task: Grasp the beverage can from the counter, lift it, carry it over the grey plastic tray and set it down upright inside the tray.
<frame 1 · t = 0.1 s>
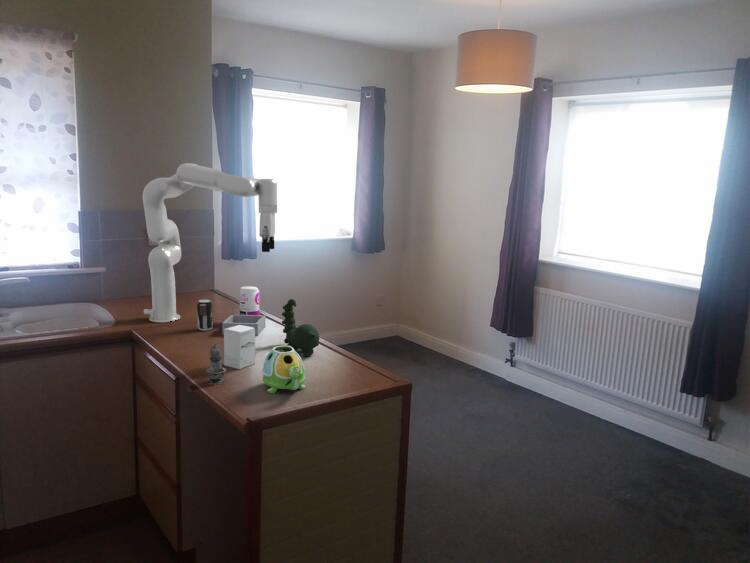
hand: (268, 250, 242), 31 cm above the countertop, tool pointing down, fingers open, 9 cm apart
supplement can: (249, 322, 248), on the countertop
tray: (244, 330, 234), on the countertop
supplement box: (240, 365, 193), on the countertop
beverage can: (205, 329, 235), on the countertop
toy figurine: (300, 351, 210), on the countertop
grey tower figurine: (216, 382, 177), on the countertop
turtle holder: (286, 389, 173), on the countertop
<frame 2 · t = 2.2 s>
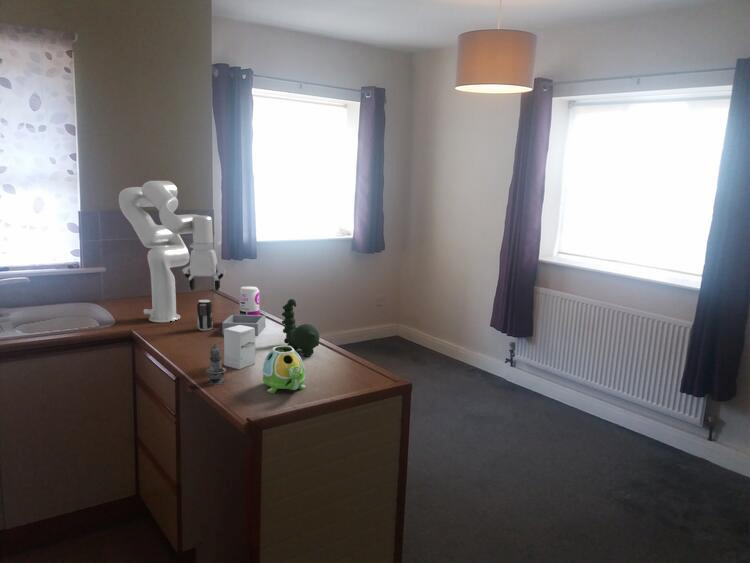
hand: (205, 289, 232), 16 cm above the countertop, tool pointing down, fingers open, 9 cm apart
nothing on the countertop moved.
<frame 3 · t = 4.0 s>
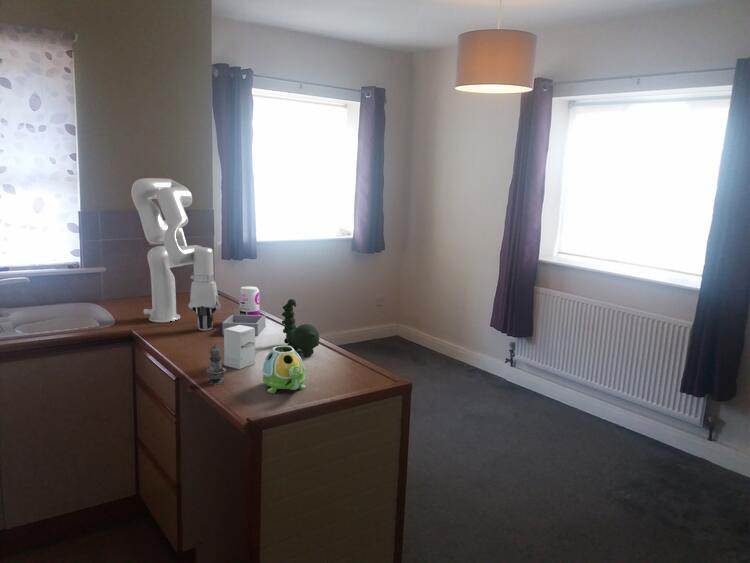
hand: (205, 322, 234), 3 cm above the countertop, tool pointing down, fingers closed on beverage can, 3 cm apart
beverage can: (205, 329, 235), on the countertop, touching gripper
everything else where it was.
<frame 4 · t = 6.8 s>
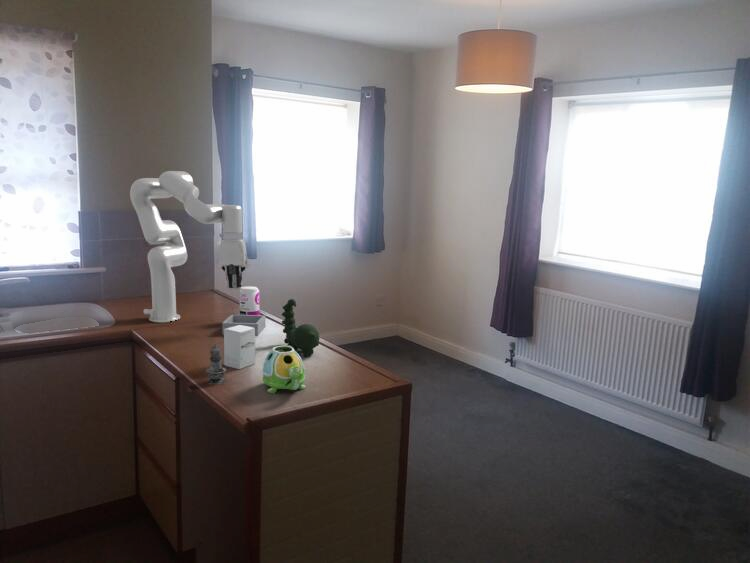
hand: (234, 282, 231), 20 cm above the countertop, tool pointing down, fingers closed on beverage can, 3 cm apart
beverage can: (234, 289, 231), point 17 cm above the countertop, touching gripper
everything else where it was.
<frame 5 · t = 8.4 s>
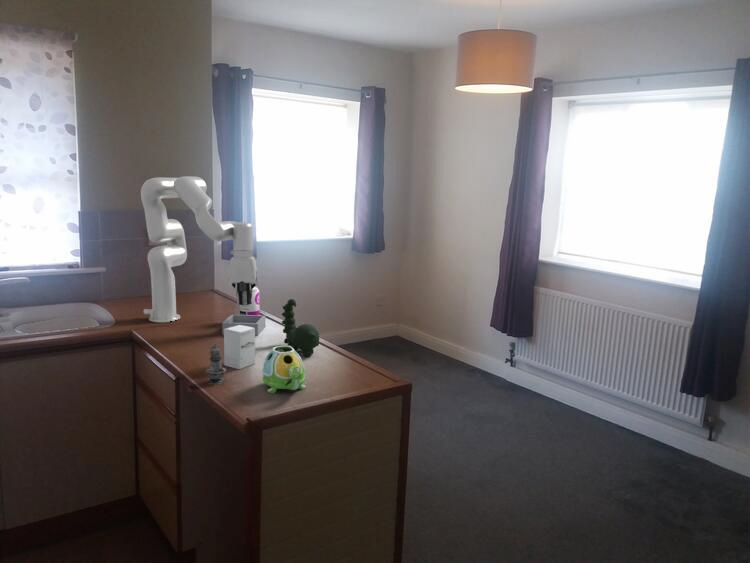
hand: (244, 299, 232), 13 cm above the countertop, tool pointing down, fingers closed on beverage can, 3 cm apart
beverage can: (244, 306, 233), point 10 cm above the countertop, touching gripper
everything else where it was.
when the fingers open (6 cm above the countertop, at t = 10.1 s): beverage can stays where it is, point 2 cm above the countertop.
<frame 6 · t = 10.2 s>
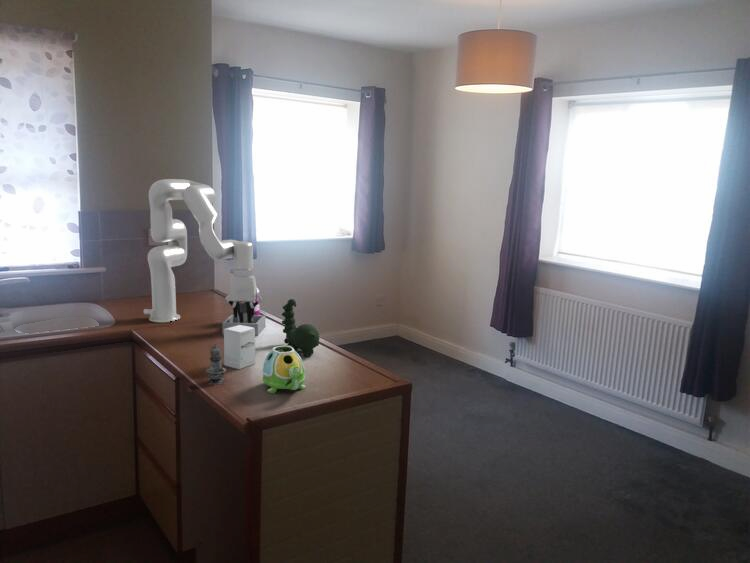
hand: (243, 316, 233), 6 cm above the countertop, tool pointing down, fingers open, 5 cm apart
beverage can: (245, 325, 235), point 2 cm above the countertop
everything else where it was.
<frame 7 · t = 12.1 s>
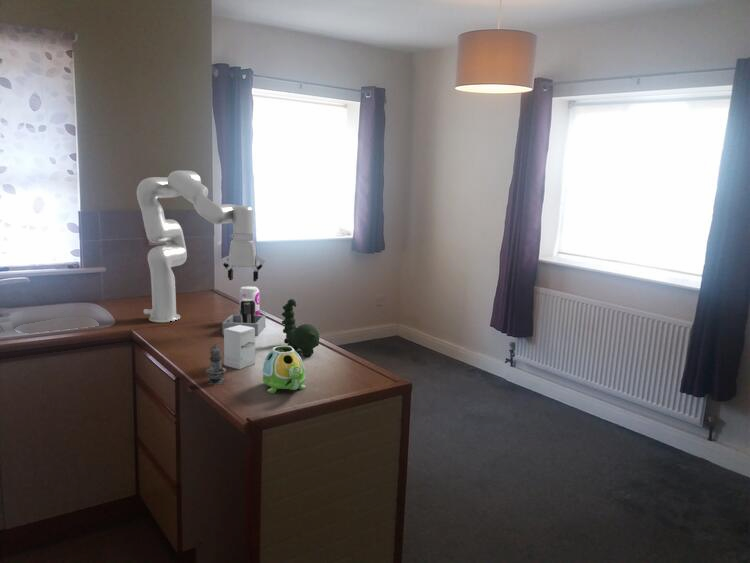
hand: (243, 280, 231), 21 cm above the countertop, tool pointing down, fingers open, 9 cm apart
beverage can: (248, 328, 235), point 1 cm above the countertop, touching tray
everything else where it was.
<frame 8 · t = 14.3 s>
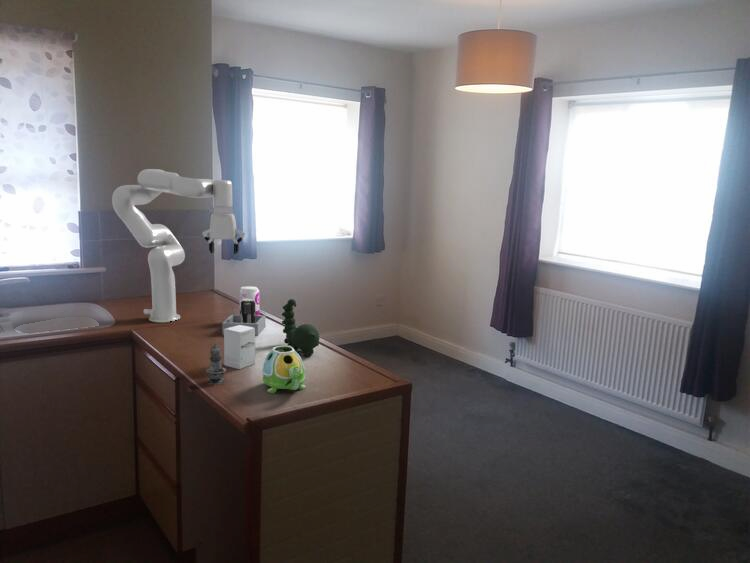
hand: (224, 253, 237), 30 cm above the countertop, tool pointing down, fingers open, 9 cm apart
nothing on the countertop moved.
at the end: beverage can inside the target area on the tray (1.7 cm from its centre), point 0.6 cm above the tray's base; beverage can tilted 0°; the gripper is holding nothing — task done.
